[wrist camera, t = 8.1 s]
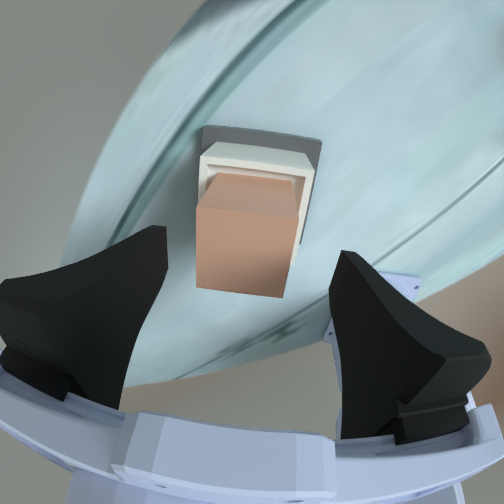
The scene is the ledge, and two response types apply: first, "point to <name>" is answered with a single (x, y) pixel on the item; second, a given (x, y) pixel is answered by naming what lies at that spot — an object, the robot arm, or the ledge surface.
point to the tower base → (262, 162)
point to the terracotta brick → (245, 234)
